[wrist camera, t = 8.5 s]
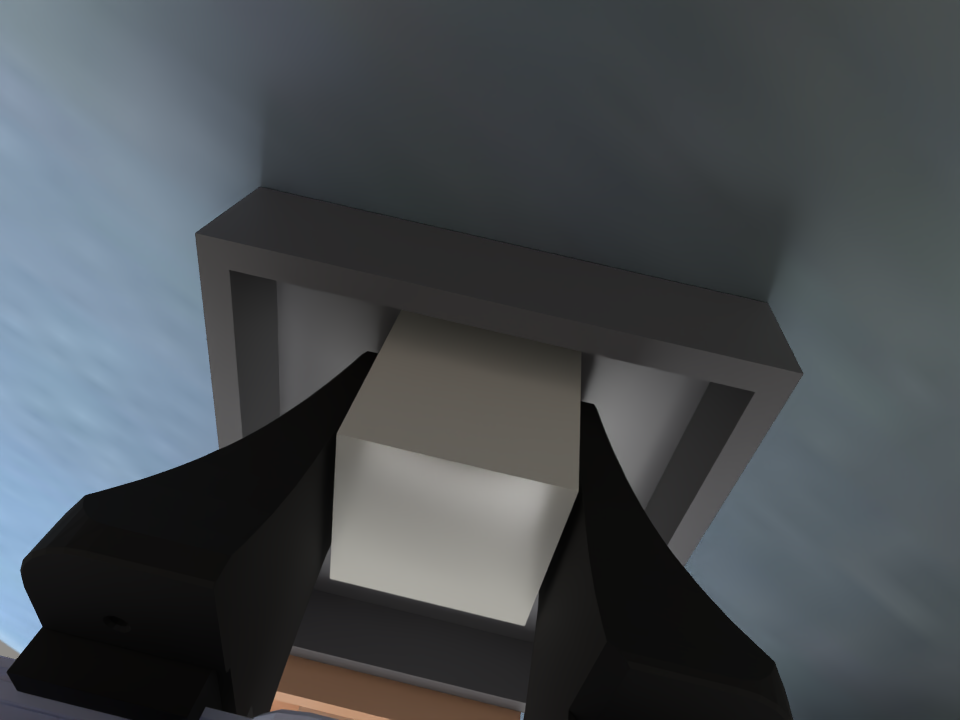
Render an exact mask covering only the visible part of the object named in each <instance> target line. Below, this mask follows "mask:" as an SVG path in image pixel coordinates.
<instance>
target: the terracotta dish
mask: <svg viewBox="0 0 960 720" xmlns="http://www.w3.org/2000/svg"><path fill="white" fill-rule="evenodd" d="M299 706H302V707H306V708H310V709H314V710H318V711H322V712H326V713H330V714H334V715H338V716H342V717H346V718H351V719H355V720H520V714H521V712H519V711H515V710H511V709H507V708H503V707H499V706H495V705H491V704H487V703H483V702H479V701H475V700H471V699H467V698H463V697H458V696H454V695H450V694H446V693H442V692H438V691H434V690H430V689H426V688H422V687H418V686H414V685H410V684H406V683H402V682H398V681H394V680H390V679H386V678H382V677H377V676H373V675H369V674H365V673H361V672H357V671H353V670H349V669H345V668H341V667H337V666H333V665H329V664H325V663H321V662H317V661H313V660H309V659H305V658H301V657H297V656H292V655H289V657H288V660H287V663H286V666H285V669H284V672H283V674H282V677H281V680H280V683H279V686H278V689H277V692H276V695H275V698H274V701H273V704H272V707H271V710H270V712H272V711H276V710H280V709H286V710H294V711H298V709H299Z"/></svg>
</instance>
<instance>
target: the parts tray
mask: <svg viewBox="0 0 960 720" xmlns="http://www.w3.org/2000/svg"><path fill="white" fill-rule="evenodd" d="M195 236H196V245H197V254H198V263H199V272H200V281H201V290H202V299H203V308H204V317H205V326H206V335H207V344H208V353H209V362H210V371H211V380H212V389H213V398H214V407H215V416H216V425H217V434H218V443H219V449H221V448H223V447H226V446H228V445H230V444H232V443H234V442H236V441H238V440H240V439H242V438H244V437H246V436H247V435H249V434H251V433H253V432H255V431H257V430H258V429H260V428H262V427H264V426H265V425H267V424H269V423H270V422H272V421H274V420H275V419H277V418H278V417H280V416H281V415H283V414H284V413H286V412H287V411H289V410H290V409H292V408H293V407H295V406H296V405H298V404H299V403H301V402H302V401H304V400H305V399H307V398H308V397H309V396H311V395H312V394H313V393H315V392H316V391H317V390H319V389H320V388H321V387H323V386H324V385H325V384H327V383H328V382H329V381H331V380H332V379H333V378H334V377H336V376H337V375H338V374H339V373H341V372H342V371H343V370H344V369H345V368H347V367H348V366H349V365H350V364H351V363H352V362H354V361H355V360H356V359H357V358H358V357H359V356H361V355H362V354H363V353H365V352H367V351H370V352H374V353H378V354H379V352H380V350H381V348H382V346H383V344H384V342H385V340H386V338H387V336H388V334H389V333H390V331H391V329H392V327H393V325H394V323H395V321H396V319H397V317H398V315H399V313H400V312H401V310H404V311H409V312H413V313H417V314H422V315H426V316H430V317H435V318H439V319H443V320H447V321H452V322H456V323H460V324H465V325H469V326H473V327H478V328H482V329H486V330H490V331H495V332H499V333H503V334H508V335H512V336H516V337H521V338H525V339H529V340H533V341H538V342H542V343H546V344H551V345H555V346H559V347H564V348H568V349H572V350H576V351H581V352H582V354H581V401H583V402H587V403H592V404H594V405H595V406H596V408H597V410H598V413H599V415H600V418H601V421H602V424H603V426H604V429H605V431H606V434H607V436H608V439H609V441H610V443H611V446H612V448H613V450H614V453H615V455H616V457H617V459H618V461H619V463H620V465H621V467H622V469H623V472H624V474H625V476H626V478H627V480H628V482H629V484H630V486H631V487H632V489H633V491H634V493H635V495H636V497H637V498H638V500H639V502H640V504H641V505H642V507H643V509H644V511H645V512H646V514H647V516H648V517H649V519H650V520H651V522H652V524H653V525H654V527H655V528H656V530H657V531H658V533H659V534H660V536H661V537H662V539H663V540H664V542H665V543H666V545H667V546H668V547H669V549H670V550H671V551H672V553H673V554H674V555H675V557H676V558H677V559H678V560H679V562H680V563H681V564H682V565H683V567H684V566H685V564H686V563H687V561H688V559H689V558H690V556H691V555H692V553H693V551H694V550H695V548H696V547H697V545H698V543H699V542H700V540H701V538H702V537H703V535H704V534H705V532H706V530H707V529H708V527H709V526H710V524H711V522H712V521H713V519H714V517H715V516H716V514H717V513H718V511H719V509H720V508H721V506H722V505H723V503H724V501H725V500H726V498H727V497H728V495H729V493H730V492H731V490H732V488H733V487H734V485H735V484H736V482H737V480H738V479H739V477H740V476H741V474H742V472H743V471H744V469H745V467H746V466H747V464H748V463H749V461H750V459H751V458H752V456H753V455H754V453H755V451H756V450H757V448H758V446H759V445H760V443H761V442H762V440H763V438H764V437H765V435H766V434H767V432H768V430H769V429H770V427H771V426H772V424H773V422H774V421H775V419H776V417H777V416H778V414H779V413H780V411H781V409H782V408H783V406H784V405H785V403H786V401H787V400H788V398H789V396H790V395H791V393H792V392H793V390H794V388H795V387H796V385H797V384H798V382H799V380H800V379H801V377H802V376H803V372H802V370H801V368H800V366H799V364H798V362H797V360H796V358H795V356H794V354H793V352H792V350H791V348H790V346H789V344H788V342H787V340H786V338H785V336H784V334H783V332H782V330H781V328H780V326H779V324H778V322H777V320H776V318H775V316H774V314H773V312H772V310H771V308H770V306H769V304H768V303H765V302H761V301H756V300H752V299H748V298H743V297H739V296H735V295H730V294H726V293H721V292H717V291H713V290H708V289H704V288H700V287H695V286H691V285H687V284H682V283H678V282H673V281H669V280H665V279H660V278H656V277H652V276H647V275H643V274H638V273H634V272H630V271H625V270H621V269H617V268H612V267H608V266H604V265H599V264H595V263H590V262H586V261H582V260H577V259H573V258H569V257H564V256H560V255H556V254H551V253H547V252H542V251H538V250H534V249H529V248H525V247H521V246H516V245H512V244H508V243H503V242H499V241H494V240H490V239H486V238H481V237H477V236H473V235H468V234H464V233H459V232H455V231H451V230H446V229H442V228H438V227H433V226H429V225H425V224H420V223H416V222H411V221H407V220H403V219H398V218H394V217H390V216H385V215H381V214H377V213H372V212H368V211H363V210H359V209H355V208H350V207H346V206H342V205H337V204H333V203H328V202H324V201H320V200H315V199H311V198H307V197H302V196H298V195H294V194H289V193H285V192H280V191H276V190H272V189H267V188H263V187H258V188H257V189H256V190H254V191H253V192H252V193H250V194H249V195H247V196H246V197H245V198H243V199H242V200H240V201H239V202H238V203H236V204H235V205H233V206H232V207H231V208H229V209H228V210H227V211H225V212H224V213H222V214H221V215H220V216H218V217H217V218H215V219H214V220H213V221H211V222H210V223H208V224H207V225H206V226H204V227H203V228H202V229H200V230H199V231H197V232H196V233H195ZM330 564H331V546H330V548H329V550H328V553H327V555H326V557H325V560H324V562H323V565H322V568H321V570H320V573H319V576H318V578H317V581H316V583H315V586H314V589H313V591H312V594H311V597H310V599H309V602H308V605H307V607H306V610H305V613H304V616H303V618H302V621H301V624H300V627H299V629H298V632H297V635H296V638H295V640H294V643H293V646H292V649H291V652H290V655H292V656H297V657H301V658H305V659H309V660H313V661H317V662H321V663H325V664H329V665H333V666H337V667H341V668H345V669H349V670H353V671H357V672H361V673H365V674H369V675H373V676H377V677H382V678H386V679H390V680H394V681H398V682H402V683H406V684H410V685H414V686H418V687H422V688H426V689H430V690H434V691H438V692H442V693H446V694H450V695H454V696H458V697H463V698H467V699H471V700H475V701H479V702H483V703H487V704H491V705H495V706H499V707H503V708H507V709H511V710H515V711H519V712H523V713H525V706H526V699H527V692H528V684H529V676H530V668H531V661H532V653H533V645H534V636H535V628H536V619H537V611H538V598H539V591H538V594H537V596H536V599H535V601H534V604H533V606H532V609H531V611H530V614H529V616H528V619H527V621H526V624H525V626H522V625H518V624H514V623H510V622H506V621H501V620H497V619H493V618H489V617H485V616H481V615H477V614H473V613H469V612H465V611H460V610H456V609H452V608H448V607H444V606H440V605H436V604H432V603H428V602H424V601H419V600H415V599H411V598H407V597H403V596H399V595H395V594H391V593H387V592H383V591H378V590H374V589H370V588H366V587H362V586H358V585H354V584H350V583H346V582H341V581H337V580H333V579H330Z"/></svg>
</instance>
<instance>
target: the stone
mask: <svg viewBox="0 0 960 720" xmlns="http://www.w3.org/2000/svg"><path fill="white" fill-rule="evenodd" d="M581 354H582V352H581V351H576V350H572V349H568V348H564V347H559V346H555V345H551V344H546V343H542V342H538V341H533V340H529V339H525V338H521V337H516V336H512V335H508V334H503V333H499V332H495V331H490V330H486V329H482V328H478V327H473V326H469V325H465V324H460V323H456V322H452V321H447V320H443V319H439V318H435V317H430V316H426V315H422V314H417V313H413V312H409V311H404V310H401V312H400V313H399V315H398V317H397V319H396V321H395V323H394V325H393V327H392V329H391V331H390V333H389V334H388V336H387V338H386V340H385V342H384V344H383V346H382V348H381V350H380V352H379V354H378V356H377V357H376V359H375V361H374V363H373V365H372V367H371V369H370V371H369V373H368V375H367V377H366V378H365V380H364V382H363V384H362V386H361V388H360V390H359V392H358V394H357V396H356V398H355V400H354V401H353V403H352V405H351V407H350V409H349V411H348V413H347V415H346V417H345V419H344V421H343V422H342V424H341V426H340V428H339V430H338V432H337V437H336V458H335V479H334V500H333V521H332V543H331V564H330V579H333V580H337V581H341V582H346V583H350V584H354V585H358V586H362V587H366V588H370V589H374V590H378V591H383V592H387V593H391V594H395V595H399V596H403V597H407V598H411V599H415V600H419V601H424V602H428V603H432V604H436V605H440V606H444V607H448V608H452V609H456V610H460V611H465V612H469V613H473V614H477V615H481V616H485V617H489V618H493V619H497V620H501V621H506V622H510V623H514V624H518V625H522V626H525V624H526V621H527V619H528V616H529V614H530V611H531V609H532V606H533V604H534V601H535V599H536V596H537V594H538V591H539V589H540V586H541V584H542V581H543V579H544V576H545V574H546V571H547V569H548V566H549V564H550V561H551V559H552V556H553V554H554V551H555V549H556V546H557V544H558V541H559V539H560V536H561V534H562V531H563V529H564V526H565V524H566V521H567V519H568V516H569V514H570V511H571V509H572V507H573V504H574V502H575V499H576V497H577V494H578V492H579V448H580V401H581Z"/></svg>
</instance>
